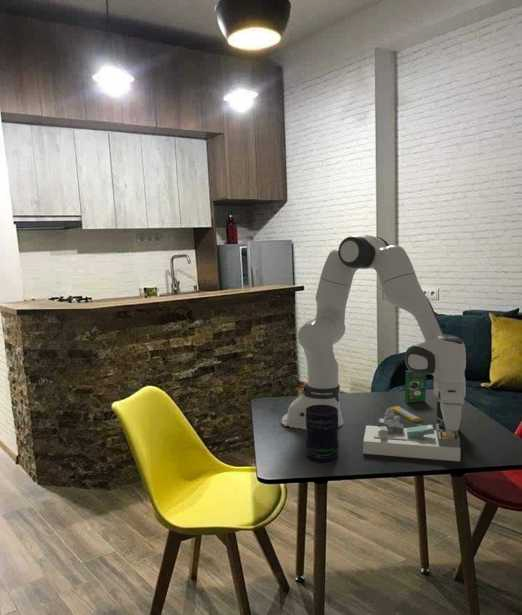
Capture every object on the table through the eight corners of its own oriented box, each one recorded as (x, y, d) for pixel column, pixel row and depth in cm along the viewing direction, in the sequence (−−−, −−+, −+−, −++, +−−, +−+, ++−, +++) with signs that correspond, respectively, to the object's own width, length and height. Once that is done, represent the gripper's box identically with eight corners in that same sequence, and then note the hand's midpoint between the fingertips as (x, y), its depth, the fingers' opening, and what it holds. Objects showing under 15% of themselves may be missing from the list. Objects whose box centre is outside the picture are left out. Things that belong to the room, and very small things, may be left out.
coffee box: (423, 400, 206) (423, 368, 205) (426, 402, 203) (426, 370, 202) (404, 401, 205) (404, 370, 204) (407, 403, 202) (407, 371, 201)
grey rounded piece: (379, 425, 178) (379, 404, 177) (396, 423, 179) (396, 402, 179) (386, 431, 173) (386, 408, 172) (403, 429, 174) (403, 406, 173)
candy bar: (424, 423, 181) (424, 418, 180) (414, 424, 179) (414, 419, 179) (399, 409, 197) (399, 404, 196) (389, 410, 195) (389, 405, 195)
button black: (440, 430, 156) (440, 422, 155) (439, 426, 159) (440, 418, 159) (453, 431, 155) (453, 423, 154) (451, 427, 158) (452, 419, 158)
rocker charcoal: (377, 426, 160) (378, 421, 160) (378, 422, 164) (379, 417, 164) (402, 433, 158) (403, 428, 158) (402, 428, 162) (403, 423, 162)
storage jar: (335, 449, 158) (335, 404, 156) (341, 463, 148) (341, 414, 146) (304, 451, 158) (303, 405, 156) (308, 464, 148) (307, 415, 146)
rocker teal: (407, 437, 155) (406, 432, 155) (407, 432, 159) (406, 427, 159) (434, 433, 153) (433, 428, 152) (433, 428, 157) (432, 423, 157)
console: (363, 453, 154) (363, 432, 154) (366, 436, 168) (366, 417, 167) (460, 461, 147) (460, 439, 146) (455, 443, 160) (455, 423, 159)
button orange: (442, 444, 149) (442, 436, 149) (441, 439, 153) (441, 431, 152) (455, 445, 148) (455, 436, 148) (454, 440, 152) (454, 432, 151)
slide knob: (380, 438, 154) (380, 429, 154) (380, 434, 157) (380, 426, 157) (386, 438, 154) (386, 430, 153) (386, 435, 157) (386, 426, 156)
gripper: (435, 380, 159) (435, 421, 161) (441, 398, 140) (440, 446, 141) (456, 380, 158) (456, 423, 159) (465, 400, 138) (464, 447, 140)
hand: (448, 434), depth 150 cm, fingers closed, pressing on button orange
